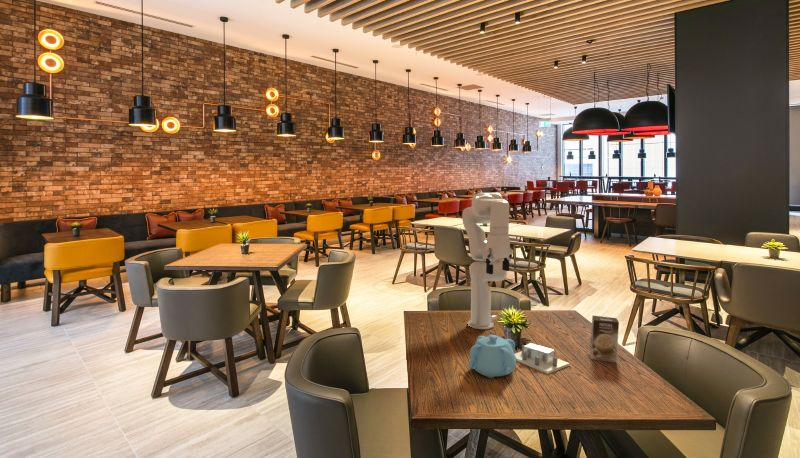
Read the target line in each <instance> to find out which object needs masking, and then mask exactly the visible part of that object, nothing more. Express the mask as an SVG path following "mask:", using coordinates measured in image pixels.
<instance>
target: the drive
mask: <svg viewBox="0 0 800 458" xmlns="http://www.w3.org/2000/svg"><path fill="white" fill-rule="evenodd" d="M524 351H526V352H527V358H528V359H531V360H534V361H535V356H538V357H539V362H540V363H543V364H546V365H548V364H550V363H551V362H553V357H554V351H555V349H553V348H549V347H546V346H542V345H539V344H535V343H532V342H529V343H527V344H526V345H525V346H524Z"/></svg>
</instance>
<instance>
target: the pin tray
mask: <svg viewBox="0 0 800 458" xmlns="http://www.w3.org/2000/svg"><path fill="white" fill-rule="evenodd" d="M524 346H525V345H524V344H523V345H521V351H519V352H514V355H515V357H516V362H518V363H520V364H522V365H525V366H528V367H530V368H532V369H535V370H537V371H539V372H541V373H543V374H547V375H549V374H551V373H554V372H557V371H559V370H563V369H565V368H567V367H569V366H570V363H569V362H567V361H565V360H562V359H560V358H558V357H556V356H557V354H556V350H554V357H553V362H551V363H550V364H548V365H546V364H543V363H540V362H539V357H538V356H535V361H534V360H531V359H528V358H527V352H526V351H524Z"/></svg>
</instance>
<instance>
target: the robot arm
mask: <svg viewBox="0 0 800 458" xmlns="http://www.w3.org/2000/svg"><path fill="white" fill-rule="evenodd" d="M461 217H462V225H463V228H464V229H465V232H466V234H467V237H468V238H467V239H468V244H469V245H468V246H469V252H470V253H469V254H470V257H471V259H472V260H474V262H472V263H471V264H470V265H469V278H470V320H468V321H467V324H468V325H467V326H468V327H469V326H470V328H471V327H472V328H471V329H476V330H489V329H492V328H494V326H495V325H494V322H493V321H494V320H496V319H498V316H497V315H495V314H494V315H491V314H492V313H491V311H492V307H491V306H492V290H491V288H490V286H489V285H488V284H487V282H502V281H505V280H506V278H507V276H508V275H507V273H508V272H509V271H510V262H511V261H512V260H511V259H512V257H513V254H514V249H512V248H511V243H510V242H511V240H510V234H509V231H510V227H509V224H510V203H509V201H507V200H506V199H504V198H503V196H502V194H500V193H499V192H477V193H476V194H474V195H473V196H472V198H471V206H469V207H466V208H464V209H463V210H462V215H461ZM478 224H489V234H488V235H487V237H486V233H485V231H484V229H482V228H481V226H480V225H478Z"/></svg>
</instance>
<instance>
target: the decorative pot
mask: <svg viewBox="0 0 800 458" xmlns="http://www.w3.org/2000/svg"><path fill="white" fill-rule="evenodd" d="M475 341H476V342H474V343H475V344H474V345H472V346H471V348H470V349H469V354H470V357H469V363H468V366H469V369H472V370H475V372H477V373H479V374H480V375H483V376H485V377H487V378H488V379H493V378H495V377H503V376H508V375H509V374H511V373H512V372H513V371H514V370H515V368H516V366H517V361H516V357H515V355H514V354H515V348H516V343H515V341H514V340H512V339H510V338H506V339H505V338H503V337H501V336H498V335H495V334H490V335H488V336H485V335H479V336H478V337H477V338H476V340H475Z"/></svg>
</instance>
